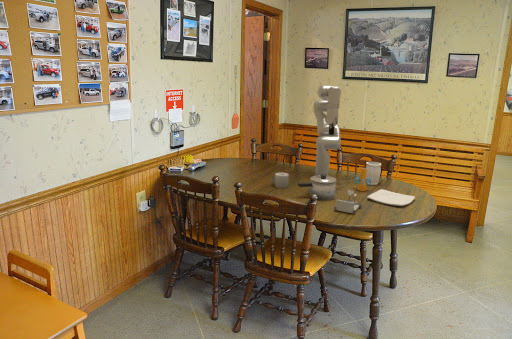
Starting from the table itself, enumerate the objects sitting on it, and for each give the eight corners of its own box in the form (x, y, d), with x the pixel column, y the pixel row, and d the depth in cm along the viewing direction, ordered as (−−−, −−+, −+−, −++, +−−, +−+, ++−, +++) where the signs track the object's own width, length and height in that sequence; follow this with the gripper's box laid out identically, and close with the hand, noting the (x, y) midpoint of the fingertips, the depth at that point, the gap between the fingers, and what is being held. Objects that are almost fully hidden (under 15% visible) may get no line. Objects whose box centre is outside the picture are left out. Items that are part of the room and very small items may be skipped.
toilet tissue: (272, 183, 286) (273, 171, 284) (290, 185, 280) (291, 173, 278) (267, 186, 278) (267, 173, 276) (285, 189, 272) (285, 176, 270)
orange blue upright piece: (357, 192, 269) (359, 170, 265) (350, 188, 279) (352, 166, 275) (374, 191, 272) (376, 170, 268) (366, 187, 282) (368, 166, 278)
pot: (294, 193, 264) (295, 178, 262) (329, 191, 269) (330, 177, 267) (301, 201, 249) (302, 185, 246) (339, 199, 254) (340, 184, 251)
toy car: (345, 187, 246) (364, 191, 241) (343, 203, 249) (362, 206, 243) (335, 195, 231) (355, 199, 226) (333, 211, 234) (353, 215, 228)
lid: (306, 177, 264) (307, 171, 263) (330, 176, 267) (330, 171, 266) (315, 184, 248) (315, 178, 247) (340, 183, 251) (340, 177, 250)
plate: (380, 192, 273) (380, 188, 272) (417, 200, 258) (417, 196, 257) (364, 200, 255) (364, 196, 254) (402, 210, 240) (403, 205, 239)
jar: (379, 186, 285) (382, 165, 282) (364, 184, 287) (366, 164, 284) (378, 182, 295) (380, 161, 292) (363, 180, 297) (365, 160, 294)
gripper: (323, 104, 268) (321, 132, 273) (332, 107, 254) (329, 136, 259) (334, 105, 270) (332, 132, 274) (343, 107, 256) (341, 136, 260)
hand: (331, 134), depth 266 cm, fingers closed
